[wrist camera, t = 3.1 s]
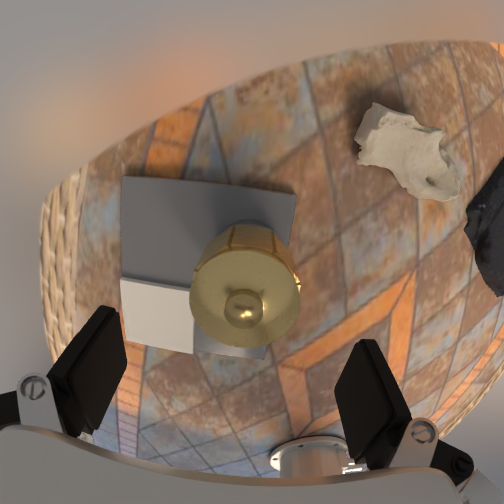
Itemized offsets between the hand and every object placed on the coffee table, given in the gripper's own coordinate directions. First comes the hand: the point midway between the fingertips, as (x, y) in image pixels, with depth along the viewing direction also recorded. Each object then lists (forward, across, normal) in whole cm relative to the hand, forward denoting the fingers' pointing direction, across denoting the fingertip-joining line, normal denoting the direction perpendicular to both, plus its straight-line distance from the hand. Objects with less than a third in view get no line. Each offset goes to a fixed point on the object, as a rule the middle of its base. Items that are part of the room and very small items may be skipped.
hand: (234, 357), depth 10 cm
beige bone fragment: (+14, -12, -9) cm, 21 cm away
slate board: (+14, +4, +4) cm, 15 cm away
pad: (+13, +7, +8) cm, 17 cm away
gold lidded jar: (+10, 0, +1) cm, 10 cm away
